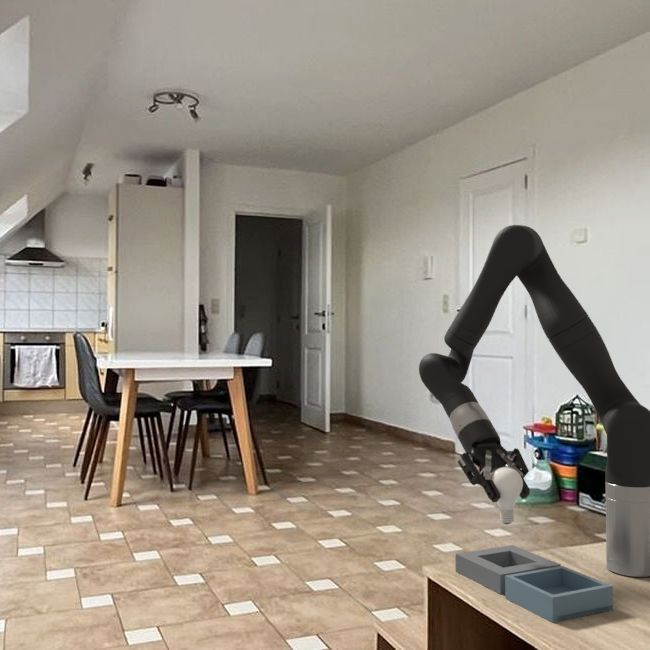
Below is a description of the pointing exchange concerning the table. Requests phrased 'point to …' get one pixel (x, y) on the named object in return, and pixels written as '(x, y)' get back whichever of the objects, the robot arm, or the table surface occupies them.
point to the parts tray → (558, 593)
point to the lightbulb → (507, 491)
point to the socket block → (499, 565)
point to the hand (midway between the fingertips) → (511, 497)
